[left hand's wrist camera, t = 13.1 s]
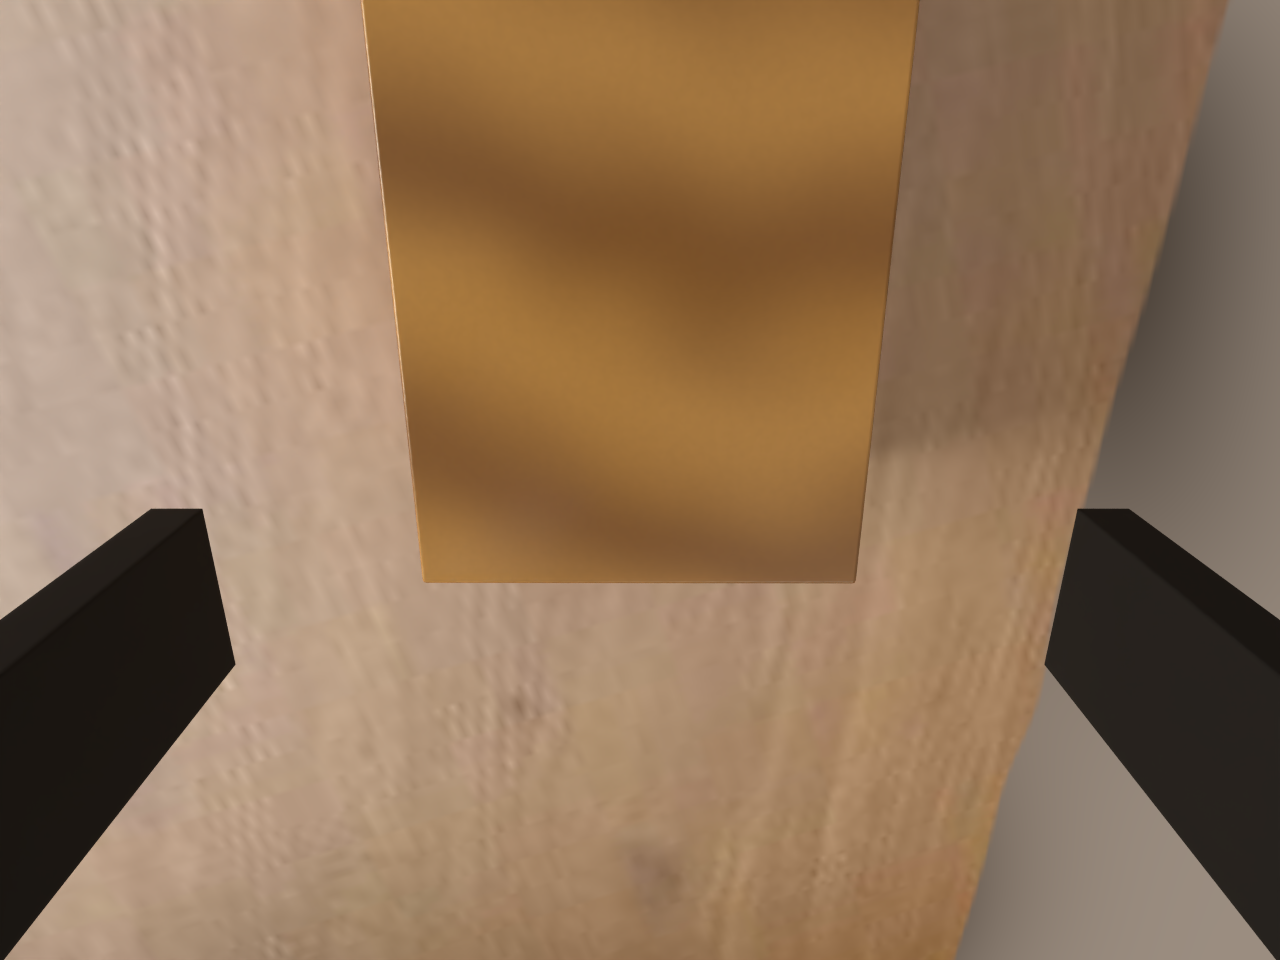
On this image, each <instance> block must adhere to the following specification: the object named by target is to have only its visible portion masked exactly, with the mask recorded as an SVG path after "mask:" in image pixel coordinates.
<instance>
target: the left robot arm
mask: <svg viewBox="0 0 1280 960" xmlns="http://www.w3.org/2000/svg"><path fill="white" fill-rule="evenodd" d="M234 666H235V660H234V655H233V650H232V646H231V641H230V636H229V632H228V627H227V622H226V618H225V613H224V608H223V604H222V599H221V594H220V590H219V585H218V580H217V575H216V571H215V566H214V561H213V557H212V552H211V547H210V543H209V538H208V533H207V529H206V524H205V519H204V514H203V510H202V509H150V510H149V511H147V512H146V513H145V514H143V515H142V516H141V517H139V518H138V519H137V520H135V521H134V522H133V523H131V524H130V525H128V526H127V527H126V528H124V529H123V530H122V531H120V532H119V533H118V534H116V535H115V536H114V537H112V538H111V539H109V540H108V541H107V542H105V543H104V544H103V545H101V546H100V547H99V548H97V549H96V550H95V551H93V552H92V553H90V554H89V555H88V556H86V557H85V558H84V559H82V560H81V561H80V562H78V563H77V564H76V565H74V566H73V567H71V568H70V569H69V570H67V571H66V572H65V573H63V574H62V575H61V576H59V577H58V578H57V579H55V580H54V581H52V582H51V583H50V584H48V585H47V586H46V587H44V588H43V589H42V590H40V591H39V592H38V593H36V594H35V595H33V596H32V597H31V598H29V599H28V600H27V601H25V602H24V603H23V604H21V605H20V606H19V607H17V608H16V609H14V610H13V611H12V612H10V613H9V614H8V615H6V616H5V617H4V618H2V619H1V620H0V960H4V959H5V958H6V956H7V955H8V954H9V953H10V951H11V950H12V949H13V947H14V946H15V945H16V944H17V942H18V941H19V940H20V939H21V937H22V936H23V935H24V933H25V932H26V931H27V930H28V928H29V927H30V926H31V924H32V923H33V922H34V921H35V919H36V918H37V917H38V916H39V914H40V913H41V912H42V910H43V909H44V908H45V907H46V905H47V904H48V903H49V902H50V900H51V899H52V898H53V896H54V895H55V894H56V893H57V891H58V890H59V889H60V888H61V886H62V885H63V884H64V882H65V881H66V880H67V879H68V877H69V876H70V875H71V873H72V872H73V871H74V870H75V868H76V867H77V866H78V865H79V863H80V862H81V861H82V859H83V858H84V857H85V856H86V854H87V853H88V852H89V851H90V849H91V848H92V847H93V845H94V844H95V843H96V842H97V840H98V839H99V838H100V837H101V835H102V834H103V833H104V831H105V830H106V829H107V828H108V826H109V825H110V824H111V823H112V821H113V820H114V819H115V817H116V816H117V815H118V814H119V812H120V811H121V810H122V808H123V807H124V806H125V805H126V803H127V802H128V801H129V800H130V798H131V797H132V796H133V794H134V793H135V792H136V791H137V789H138V788H139V787H140V786H141V784H142V783H143V782H144V780H145V779H146V778H147V777H148V775H149V774H150V773H151V772H152V770H153V769H154V768H155V766H156V765H157V764H158V763H159V761H160V760H161V759H162V757H163V756H164V755H165V754H166V752H167V751H168V750H169V749H170V747H171V746H172V745H173V743H174V742H175V741H176V740H177V738H178V737H179V736H180V735H181V733H182V732H183V731H184V729H185V728H186V727H187V726H188V724H189V723H190V722H191V721H192V719H193V718H194V717H195V715H196V714H197V713H198V712H199V710H200V709H201V708H202V706H203V705H204V704H205V703H206V701H207V700H208V699H209V698H210V696H211V695H212V694H213V692H214V691H215V690H216V689H217V687H218V686H219V685H220V684H221V682H222V681H223V680H224V678H225V677H226V676H227V675H228V673H229V672H230V671H231V670H232V668H233V667H234ZM1045 666H1046V667H1047V668H1048V670H1049V671H1050V672H1051V673H1052V675H1053V676H1054V677H1055V678H1056V680H1057V681H1058V682H1059V684H1060V685H1061V686H1062V687H1063V689H1064V690H1065V691H1066V692H1067V694H1068V695H1069V696H1070V697H1071V699H1072V700H1073V701H1074V703H1075V704H1076V705H1077V706H1078V708H1079V709H1080V710H1081V712H1082V713H1083V714H1084V715H1085V717H1086V718H1087V719H1088V720H1089V722H1090V723H1091V724H1092V726H1093V727H1094V728H1095V729H1096V731H1097V732H1098V733H1099V734H1100V736H1101V737H1102V738H1103V740H1104V741H1105V742H1106V743H1107V745H1108V746H1109V747H1110V749H1111V750H1112V751H1113V752H1114V754H1115V755H1116V756H1117V757H1118V759H1119V760H1120V761H1121V763H1122V764H1123V765H1124V766H1125V768H1126V769H1127V770H1128V772H1129V773H1130V774H1131V775H1132V777H1133V778H1134V779H1135V780H1136V782H1137V783H1138V784H1139V785H1140V787H1141V788H1142V789H1143V790H1144V792H1145V793H1146V794H1147V796H1148V797H1149V798H1150V800H1151V801H1152V802H1153V803H1154V805H1155V806H1156V807H1157V808H1158V810H1159V811H1160V812H1161V814H1162V815H1163V816H1164V817H1165V819H1166V820H1167V821H1168V823H1169V824H1170V825H1171V826H1172V828H1173V829H1174V830H1175V831H1176V833H1177V834H1178V835H1179V836H1180V838H1181V839H1182V840H1183V842H1184V843H1185V844H1186V845H1187V847H1188V848H1189V849H1190V851H1191V852H1192V853H1193V854H1194V856H1195V857H1196V858H1197V859H1198V861H1199V862H1200V863H1201V865H1202V866H1203V867H1204V868H1205V870H1206V871H1207V872H1208V873H1209V875H1210V876H1211V877H1212V879H1213V880H1214V881H1215V882H1216V884H1217V885H1218V886H1219V888H1220V889H1221V890H1222V891H1223V893H1224V894H1225V895H1226V896H1227V898H1228V899H1229V900H1230V902H1231V903H1232V904H1233V905H1234V907H1235V908H1236V909H1237V910H1238V912H1239V913H1240V914H1241V916H1242V917H1243V918H1244V919H1245V921H1246V922H1247V923H1248V924H1249V926H1250V927H1251V928H1252V930H1253V931H1254V932H1255V933H1256V935H1257V936H1258V937H1259V939H1260V940H1261V941H1262V942H1263V944H1264V945H1265V946H1266V947H1267V949H1268V950H1269V951H1270V953H1271V954H1272V955H1273V956H1274V958H1275V959H1276V960H1280V620H1279V619H1278V618H1276V617H1275V616H1274V615H1272V614H1271V613H1270V612H1268V611H1267V610H1266V609H1264V608H1263V607H1261V606H1260V605H1259V604H1257V603H1256V602H1255V601H1253V600H1252V599H1251V598H1249V597H1248V596H1247V595H1245V594H1244V593H1242V592H1241V591H1240V590H1238V589H1237V588H1236V587H1234V586H1233V585H1232V584H1230V583H1229V582H1228V581H1226V580H1225V579H1223V578H1222V577H1221V576H1219V575H1218V574H1217V573H1215V572H1214V571H1213V570H1211V569H1210V568H1208V567H1207V566H1206V565H1204V564H1203V563H1202V562H1200V561H1199V560H1198V559H1196V558H1195V557H1194V556H1192V555H1191V554H1190V553H1188V552H1187V551H1185V550H1184V549H1183V548H1181V547H1180V546H1179V545H1177V544H1176V543H1175V542H1173V541H1172V540H1170V539H1169V538H1168V537H1166V536H1165V535H1164V534H1162V533H1161V532H1160V531H1158V530H1157V529H1156V528H1154V527H1153V526H1152V525H1150V524H1149V523H1147V522H1146V521H1145V520H1143V519H1142V518H1141V517H1139V516H1138V515H1137V514H1135V513H1134V512H1132V511H1131V510H1130V509H1078V510H1077V514H1076V519H1075V524H1074V529H1073V533H1072V538H1071V543H1070V547H1069V552H1068V557H1067V561H1066V566H1065V571H1064V575H1063V580H1062V585H1061V590H1060V594H1059V599H1058V604H1057V608H1056V613H1055V618H1054V622H1053V627H1052V632H1051V636H1050V641H1049V646H1048V650H1047V655H1046V660H1045Z"/></svg>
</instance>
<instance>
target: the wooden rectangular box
mask: <svg viewBox="0 0 1280 960" xmlns="http://www.w3.org/2000/svg"><path fill="white" fill-rule="evenodd" d="M919 2H920V0H361V8H362V17H363V27H364V36H365V45H366V55H367V64H368V73H369V83H370V92H371V101H372V111H373V120H374V129H375V139H376V148H377V157H378V167H379V176H380V185H381V195H382V204H383V213H384V223H385V232H386V241H387V250H388V260H389V269H390V278H391V288H392V297H393V306H394V316H395V325H396V334H397V344H398V353H399V362H400V372H401V381H402V390H403V400H404V409H405V418H406V428H407V437H408V446H409V456H410V465H411V474H412V484H413V493H414V502H415V512H416V521H417V530H418V540H419V549H420V558H421V568H422V577H423V581H424V582H426V583H855V580H856V573H857V564H858V555H859V546H860V537H861V528H862V519H863V510H864V501H865V492H866V483H867V473H868V464H869V455H870V446H871V437H872V428H873V419H874V410H875V401H876V392H877V383H878V374H879V365H880V356H881V346H882V337H883V328H884V319H885V310H886V301H887V292H888V283H889V274H890V265H891V256H892V247H893V238H894V229H895V220H896V210H897V201H898V192H899V183H900V174H901V165H902V156H903V147H904V138H905V129H906V120H907V111H908V102H909V93H910V84H911V74H912V65H913V56H914V47H915V38H916V29H917V20H918V11H919Z"/></svg>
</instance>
